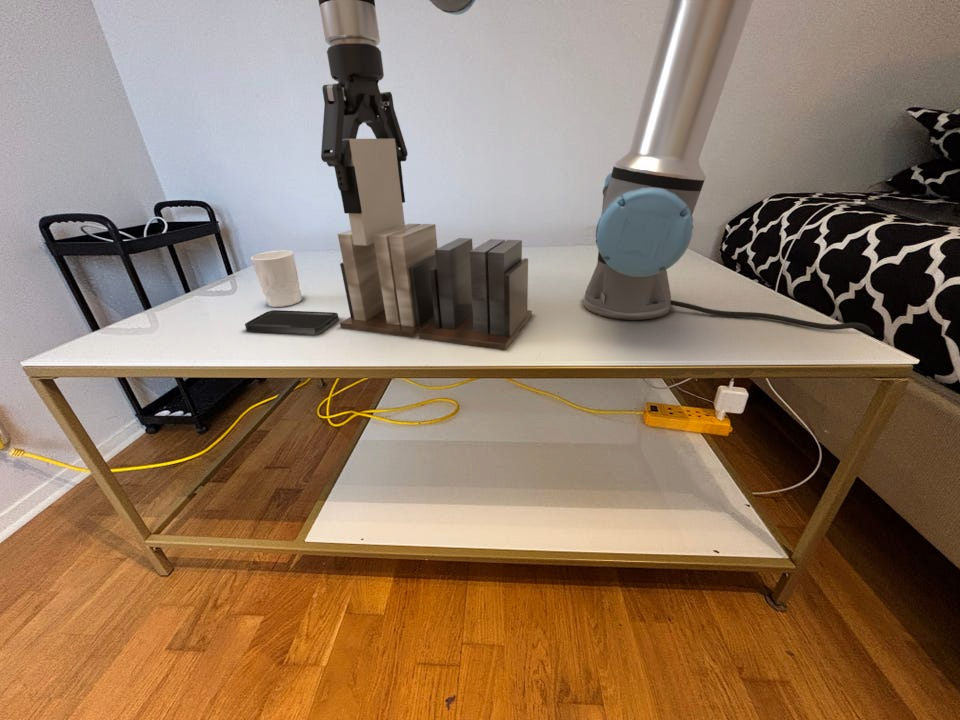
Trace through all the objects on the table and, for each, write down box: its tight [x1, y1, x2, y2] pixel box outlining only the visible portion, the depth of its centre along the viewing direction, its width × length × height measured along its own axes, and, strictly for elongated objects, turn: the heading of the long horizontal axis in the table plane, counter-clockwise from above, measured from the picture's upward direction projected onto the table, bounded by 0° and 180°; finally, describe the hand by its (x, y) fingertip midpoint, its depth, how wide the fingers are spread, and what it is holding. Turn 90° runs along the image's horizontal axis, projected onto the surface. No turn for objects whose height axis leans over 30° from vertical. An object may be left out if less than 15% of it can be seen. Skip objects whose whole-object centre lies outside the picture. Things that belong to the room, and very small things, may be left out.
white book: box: [342, 138, 406, 246], centre depth 67 cm, size 2×12×15 cm, turn 158°
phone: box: [244, 309, 340, 336], centre depth 75 cm, size 8×1×15 cm
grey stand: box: [418, 237, 533, 351], centre depth 68 cm, size 15×15×14 cm
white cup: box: [250, 250, 303, 308], centre depth 85 cm, size 8×8×10 cm
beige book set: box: [337, 223, 438, 339], centre depth 73 cm, size 15×15×16 cm
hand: (377, 207), depth 68 cm, fingers closed on white book, 12 cm apart
